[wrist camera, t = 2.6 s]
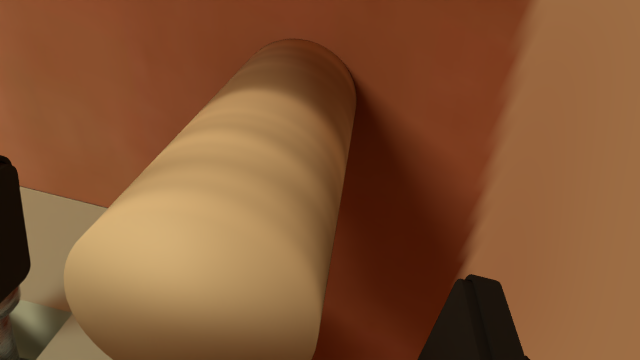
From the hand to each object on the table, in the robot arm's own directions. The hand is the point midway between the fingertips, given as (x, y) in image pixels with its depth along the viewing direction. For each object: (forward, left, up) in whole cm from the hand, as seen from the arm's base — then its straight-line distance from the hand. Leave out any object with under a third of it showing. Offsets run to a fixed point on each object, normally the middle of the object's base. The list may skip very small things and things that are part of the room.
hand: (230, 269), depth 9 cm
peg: (-1, 0, -8) cm, 8 cm away
